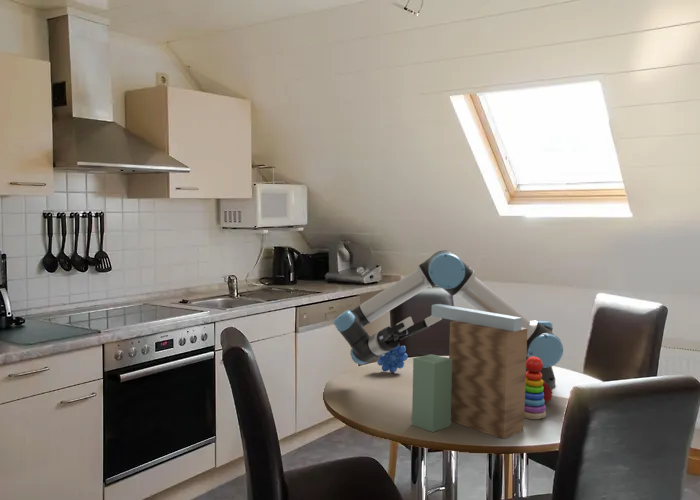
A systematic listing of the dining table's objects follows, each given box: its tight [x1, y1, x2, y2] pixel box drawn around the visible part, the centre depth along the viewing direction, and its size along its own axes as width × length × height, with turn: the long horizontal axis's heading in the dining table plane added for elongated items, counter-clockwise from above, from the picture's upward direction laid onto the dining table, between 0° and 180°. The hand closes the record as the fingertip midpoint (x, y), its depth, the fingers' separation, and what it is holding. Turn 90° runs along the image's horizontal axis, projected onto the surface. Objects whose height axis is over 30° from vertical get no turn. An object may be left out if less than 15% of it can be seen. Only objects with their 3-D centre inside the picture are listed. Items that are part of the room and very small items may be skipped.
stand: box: [448, 320, 527, 439], centre depth 189 cm, size 20×10×30 cm, turn 43°
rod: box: [430, 303, 522, 331], centre depth 191 cm, size 30×4×4 cm, turn 43°
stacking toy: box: [524, 356, 547, 420], centre depth 198 cm, size 8×8×19 cm
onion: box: [542, 381, 553, 404], centre depth 210 cm, size 6×6×8 cm
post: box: [411, 353, 452, 433], centre depth 189 cm, size 8×8×20 cm
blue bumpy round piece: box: [376, 343, 409, 374], centre depth 247 cm, size 12×7×12 cm, turn 81°
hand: (426, 317), depth 205 cm, fingers open, 13 cm apart
